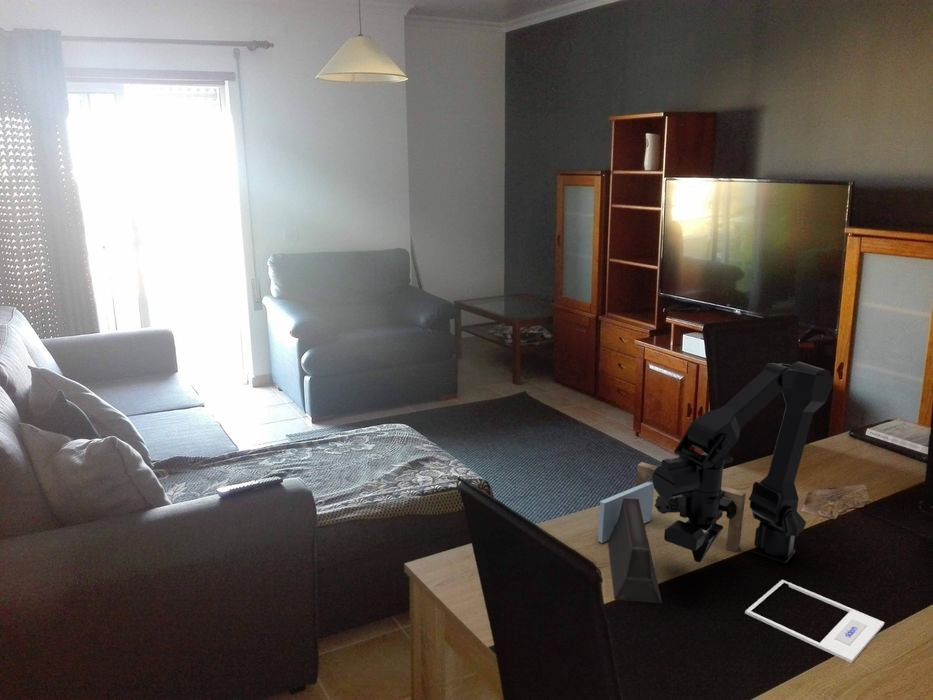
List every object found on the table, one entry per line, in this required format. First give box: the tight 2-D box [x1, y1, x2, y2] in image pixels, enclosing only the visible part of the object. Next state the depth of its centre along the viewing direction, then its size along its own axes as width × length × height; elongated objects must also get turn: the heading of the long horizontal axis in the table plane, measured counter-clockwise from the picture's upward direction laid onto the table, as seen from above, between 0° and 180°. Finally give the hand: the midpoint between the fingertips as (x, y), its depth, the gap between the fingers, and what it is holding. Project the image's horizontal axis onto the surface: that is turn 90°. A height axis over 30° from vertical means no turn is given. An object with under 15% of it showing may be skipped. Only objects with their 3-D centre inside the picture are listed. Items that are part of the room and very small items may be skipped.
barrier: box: [607, 498, 662, 604], centre depth 146 cm, size 24×9×10 cm, turn 173°
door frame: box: [635, 461, 747, 553], centre depth 159 cm, size 23×2×12 cm, turn 50°
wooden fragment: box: [800, 484, 872, 520], centre depth 176 cm, size 26×11×1 cm, turn 122°
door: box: [596, 480, 655, 544], centre depth 160 cm, size 16×3×9 cm, turn 128°
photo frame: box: [744, 579, 885, 664], centre depth 131 cm, size 15×1×18 cm
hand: (697, 561), depth 143 cm, fingers closed
